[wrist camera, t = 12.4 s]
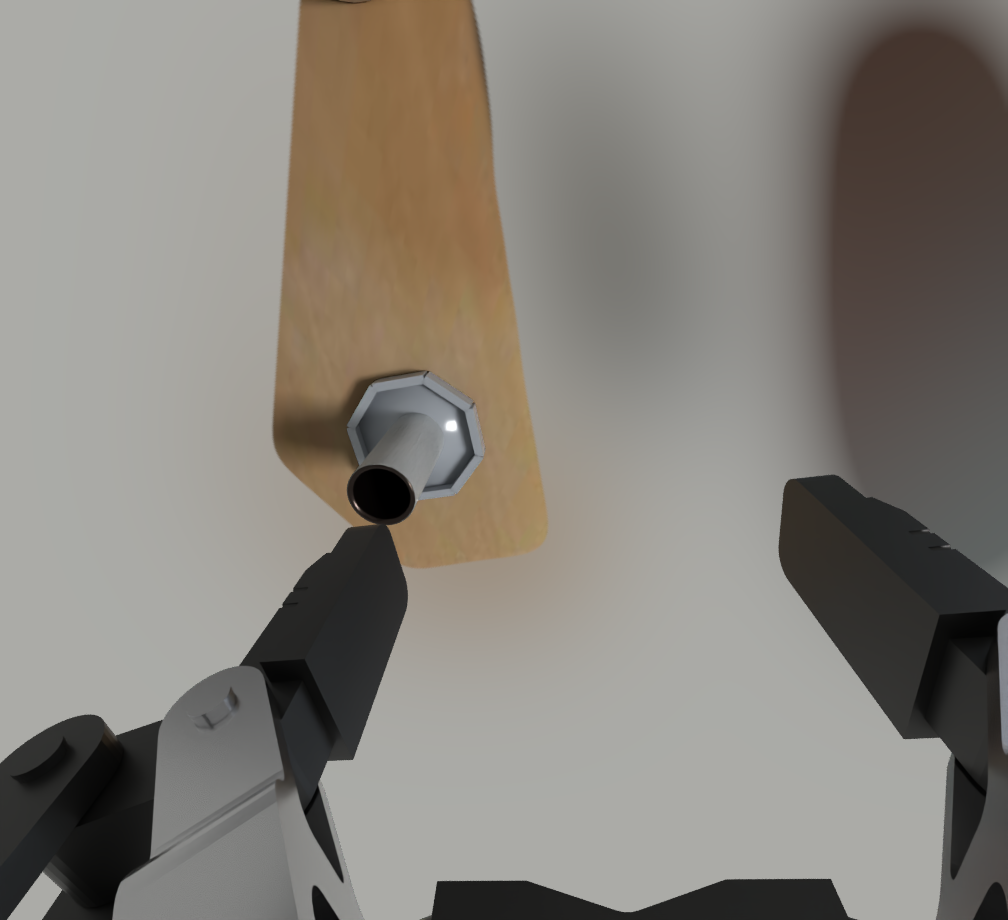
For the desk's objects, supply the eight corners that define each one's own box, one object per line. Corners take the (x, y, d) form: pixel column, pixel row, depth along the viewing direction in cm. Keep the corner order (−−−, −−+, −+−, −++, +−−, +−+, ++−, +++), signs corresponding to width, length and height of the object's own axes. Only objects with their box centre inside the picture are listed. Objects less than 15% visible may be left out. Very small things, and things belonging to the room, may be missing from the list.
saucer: (340, 385, 39) (333, 390, 37) (466, 363, 37) (463, 367, 36) (378, 498, 43) (373, 506, 42) (492, 482, 42) (491, 490, 40)
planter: (455, 442, 40) (429, 503, 30) (416, 471, 41) (380, 537, 32) (419, 401, 38) (380, 451, 29) (380, 432, 40) (331, 489, 30)
